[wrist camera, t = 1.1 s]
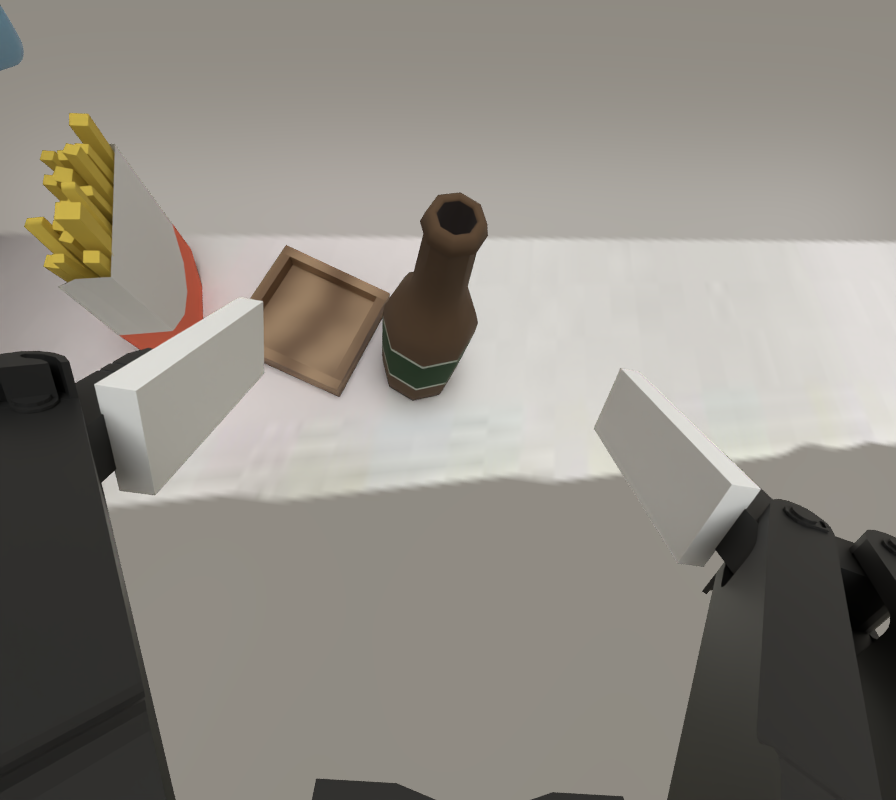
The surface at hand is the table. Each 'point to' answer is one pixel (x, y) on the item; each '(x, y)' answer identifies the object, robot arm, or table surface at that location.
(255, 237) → the table surface
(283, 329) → the wooden tray
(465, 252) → the beer bottle
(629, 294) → the table surface
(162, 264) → the french fries container
